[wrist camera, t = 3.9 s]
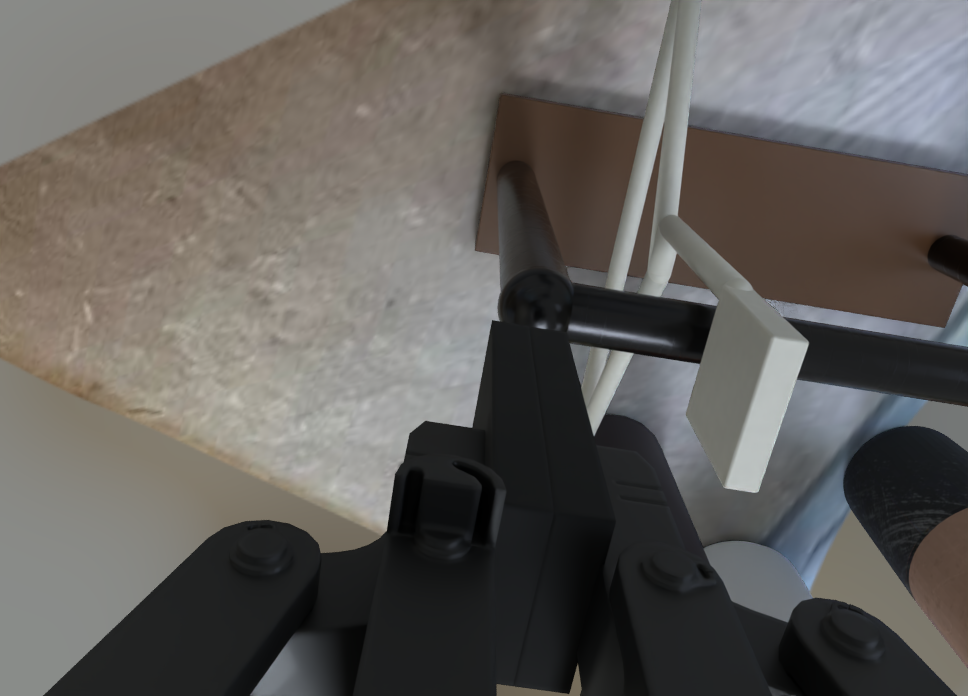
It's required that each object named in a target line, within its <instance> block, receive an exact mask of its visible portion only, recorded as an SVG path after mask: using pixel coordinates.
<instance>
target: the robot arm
mask: <svg viewBox="0 0 968 696" xmlns="http://www.w3.org/2000/svg"><path fill="white" fill-rule="evenodd" d="M661 489H662V487H661V484H660V482H659V479H658V476H657V474H656V471H655V469H654V468H653V467H652V466H651V465H650V464H649V463H648V462H647V461H646V460H645V459H644V458H643V457H642V456H641V455H640V454H639V453H638V452H637V451H631V450H625V449H618V448H612V447H605V446H599V445H596V443H595V439H594V435H593V431H592V427H591V424H590V420H589V416H588V412H587V408H586V405H585V401H584V397H583V393H582V389H581V386H580V382H579V378H578V374H577V370H576V367H575V363H574V359H573V355H572V351H571V348H570V344H569V340H568V336H567V333H566V332H561V331H555V330H549V329H543V328H536V327H530V326H524V325H518V324H512V323H506V322H499V321H493V320H492V324H491V329H490V335H489V340H488V346H487V351H486V357H485V362H484V367H483V373H482V378H481V384H480V389H479V395H478V400H477V406H476V411H475V417H474V422H473V428H468V427H461V426H455V425H449V424H442V423H436V422H429V421H425V422H423V423H422V424H421V425H420V426H419V427H417V428H416V429H415V430H414V431H412V432H411V433H410V435H409V439H408V444H407V449H406V454H405V459H404V463H403V464H401V466H400V467H399V469H398V471H397V472H396V474H395V479H394V486H393V493H392V500H391V506H390V513H389V520H388V527H387V531H386V532H385V533H384V534H383V535H382V536H381V538H379V539H378V540H376V541H374V542H373V543H371V544H369V545H367V546H364V547H361V548H358V549H355V550H349V551H342V552H333V553H320V548H319V544H318V543H317V542H316V541H315V540H314V539H313V538H312V537H311V536H310V535H309V534H308V533H307V532H306V531H304V530H302V529H299V528H297V527H295V526H293V525H291V524H288V523H282V522H276V521H270V520H261V521H245V522H241V523H238V524H235V525H231V526H228V527H224V528H223V529H221V530H220V531H218V532H217V533H215V534H214V535H212V536H211V537H209V538H208V539H207V540H206V541H205V542H204V543H202V544H201V545H200V546H199V547H198V548H197V549H196V550H195V551H194V552H193V553H192V554H191V555H190V556H189V557H188V558H187V559H186V560H185V561H184V562H183V563H182V564H180V565H179V566H178V567H177V568H176V569H175V570H174V571H173V572H172V573H171V574H170V575H169V576H168V577H167V578H166V579H165V580H164V581H163V582H162V583H161V584H159V585H158V586H157V587H156V588H155V589H154V590H153V591H152V592H151V593H150V594H149V595H148V596H147V597H146V598H145V599H144V600H143V601H142V602H141V603H140V604H139V605H138V606H136V608H134V610H132V611H131V612H130V613H129V614H128V615H127V616H126V617H125V618H124V619H123V620H122V621H121V622H120V623H119V624H118V625H117V626H116V627H115V628H113V629H112V630H111V631H110V632H109V634H107V635H106V636H105V637H104V638H103V639H102V640H101V641H100V642H99V643H98V644H97V645H96V646H95V647H94V648H93V649H92V650H90V651H89V652H88V653H87V654H86V655H85V656H84V657H83V658H82V659H81V660H80V661H79V662H78V663H77V664H76V665H75V666H74V667H73V668H72V669H71V670H70V671H68V672H67V674H65V675H64V676H63V677H62V678H61V679H60V680H59V681H58V682H57V683H56V684H55V685H54V686H53V687H52V688H51V689H50V690H49V691H48V692H47V693H45V695H43V696H496V684H501V685H509V686H516V687H523V688H530V689H537V690H545V691H552V692H560V693H567V694H569V693H570V689H571V686H572V682H573V678H574V675H575V671H576V667H577V664H578V666H579V673H580V680H581V687H582V691H581V694H580V696H957V695H956V694H955V693H954V692H953V691H952V690H951V689H950V688H949V687H948V686H947V685H946V684H945V683H944V682H943V681H942V680H941V679H940V678H939V677H938V676H937V675H936V674H935V673H934V672H933V671H932V670H931V669H930V668H929V667H928V666H927V665H926V664H925V662H924V661H922V659H921V658H920V657H919V656H918V655H917V654H916V653H915V652H914V651H913V650H912V649H911V648H910V647H909V646H908V645H907V644H906V643H905V642H904V641H903V640H902V639H901V638H900V637H899V636H898V635H897V634H896V633H895V632H894V631H892V630H891V629H890V628H889V627H888V626H886V625H885V624H884V623H883V622H881V621H880V620H879V619H877V618H876V617H874V616H872V615H870V614H868V613H866V612H865V611H863V610H862V609H860V608H858V607H856V606H853V605H851V604H850V605H848V604H847V603H845V602H840V601H837V600H830V599H822V598H813V599H808V600H803V601H801V602H800V603H799V604H798V605H797V606H796V607H795V608H794V609H793V611H792V613H791V616H790V619H789V621H788V622H785V621H782V620H779V619H777V618H774V617H771V616H768V615H765V614H763V613H760V612H757V611H754V610H751V609H749V608H747V607H744V606H742V605H740V604H737V603H735V602H733V601H731V599H730V596H729V594H728V592H727V589H726V587H725V585H724V582H723V581H722V579H721V578H720V576H719V575H718V573H717V572H716V571H715V569H714V568H713V567H712V566H710V565H709V564H708V563H707V562H705V561H704V560H703V559H702V558H700V557H699V556H697V555H695V554H693V553H691V552H689V551H687V550H686V549H685V546H684V544H683V541H682V538H681V536H680V533H679V531H678V528H677V526H676V523H675V520H674V518H673V515H672V513H671V510H670V507H669V506H667V503H668V502H667V500H666V497H665V494H664V492H663V491H661Z"/></svg>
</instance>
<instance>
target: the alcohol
mask: <svg viewBox="0 0 968 696" xmlns="http://www.w3.org/2000/svg"><path fill="white" fill-rule="evenodd" d="M704 551H705V553H706V556H707V558H708V560H709V563H710V565H711V566H712V567H713V568H714V569H715V571H716V572H717V573H718V575H719V576H720V578H721V579H722V581H723V582H724V585H725V587H726V589H727V592H728V594H729V596H730V599H731V601H733V602H735V603H737V604H740V605H742V606H744V607H747V608H749V609H751V610H754V611H757V612H760V613H763V614H765V615H768V616H771V617H774V618H777V619H779V620H782V621H785V622H788V621H789V619H790V616H791V613H792V611H793V609H794V608H795V607H796V606H797V605H798V604H799V603H800V602H801V601H803V600H808V599H813V597H812V596H811V594H810V592H809V590H808V589H807V587H806V585H805V583H804V582H803V580H802V578H801V577H800V575H799V573H798V571H797V570H796V568H795V567H794V566H793V564H792V563H791V562H790V561H789V560H788V559H787V558H786V557H785V556H783V555H782V554H781V553H779V552H777V551H775V550H773V549H771V548H769V547H766V546H763V545H759V544H755V543H751V542H746V541H725V542H720V543H716V544H712V545H710V546H707V547H705V548H704Z"/></svg>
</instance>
